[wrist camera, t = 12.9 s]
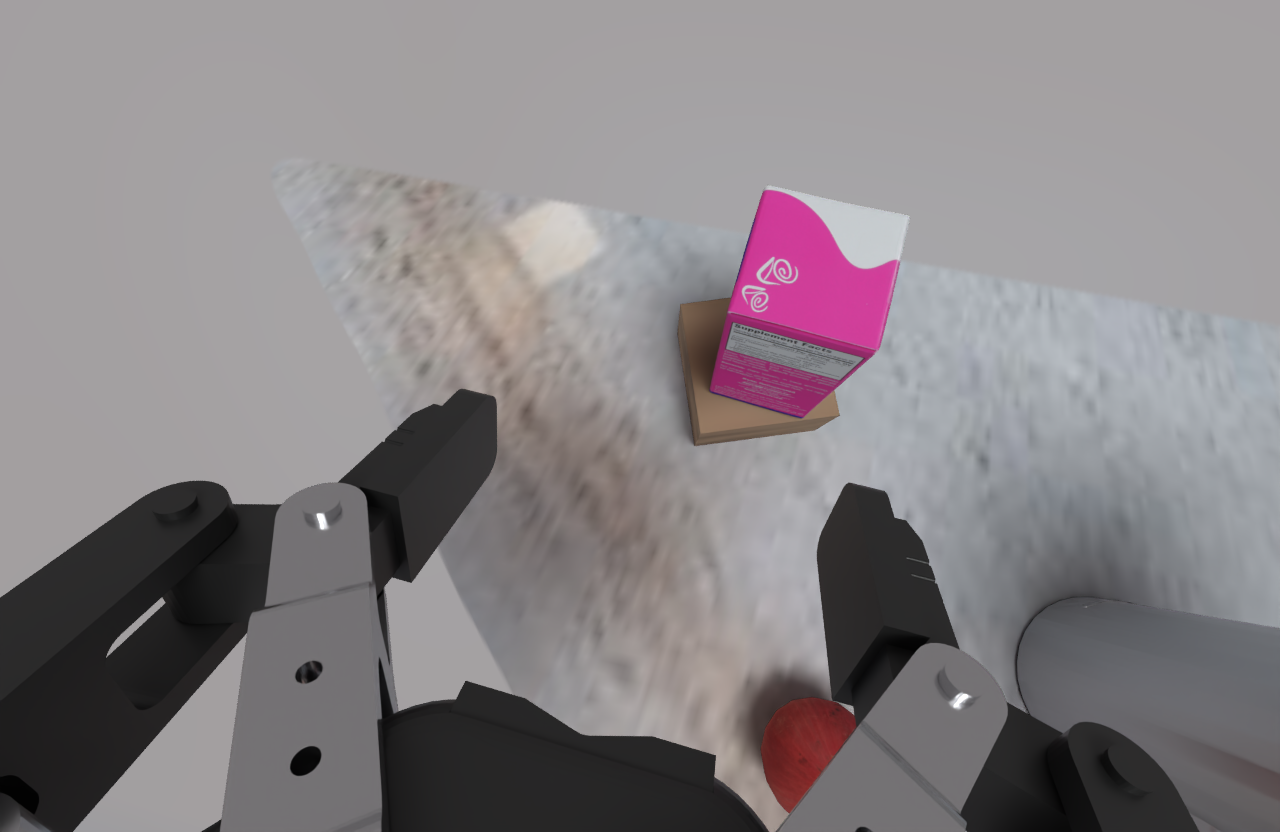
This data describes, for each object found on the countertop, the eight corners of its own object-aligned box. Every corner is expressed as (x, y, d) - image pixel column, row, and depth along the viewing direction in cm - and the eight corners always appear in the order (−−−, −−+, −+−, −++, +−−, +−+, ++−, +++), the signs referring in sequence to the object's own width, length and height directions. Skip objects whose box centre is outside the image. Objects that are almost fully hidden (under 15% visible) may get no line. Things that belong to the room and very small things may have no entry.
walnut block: (813, 431, 34) (839, 415, 29) (694, 446, 34) (700, 433, 29) (791, 319, 36) (812, 286, 31) (677, 334, 36) (680, 304, 31)
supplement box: (730, 304, 31) (767, 176, 20) (827, 331, 30) (922, 213, 19) (703, 393, 30) (726, 310, 19) (804, 422, 29) (890, 354, 18)
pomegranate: (814, 660, 31) (868, 706, 23) (870, 753, 30) (946, 834, 22) (732, 712, 31) (758, 776, 23) (785, 808, 30) (832, 910, 22)
